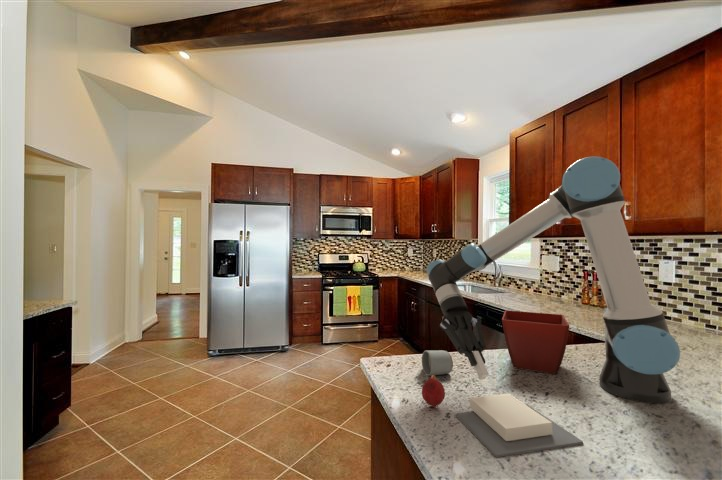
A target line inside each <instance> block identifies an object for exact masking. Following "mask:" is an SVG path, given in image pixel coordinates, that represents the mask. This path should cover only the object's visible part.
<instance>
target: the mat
mask: <svg viewBox="0 0 722 480" xmlns="http://www.w3.org/2000/svg"><path fill="white" fill-rule="evenodd" d="M525 405H527V406H528V407H530V408H531V409H533V410H534V411H536V412H537V413H539V414H540V415H542V416H543V417H545V418H546V419H548V420H549V421H551V422H552V435H545V436H539V437H532V438H525V439H518V440H512V441H506V440H504V439H503V438H502V437H501V436H500V435H499V434H498V433H497V432H496V431H495V430H493V429H492V428H491V427H490V426H489V425H488V424H487V423H486V422H485V421H484V420H482V419H481V418H480V417H479V416H478V415H477V414H476V413H475V412H474V411H473V410H471V411H470V410H469V411H463V412H455V413H454V415H455V417H456V418H457V419H458V420H459V421H460V422H461V423H462V424H463V425H464V426H465V427H466V428H467V429H468V431H470V432H471V434H472V435H474V437H475V438H477V440H479V442H481V444H482V445H483V446H484V447H485V448H486V449H487V450H488V452H490V453H491V454H492V455H493V457H495V458H496V459H497V458H503V457H504V458H505V457H509V456H516V455H522V454H528V453H534V452H541V451H548V450H553V449H560V448H566V447H571V446H572V447H573V446H579V445H583V444H584V441H583V440H581V438H579V437H578V436H576V435H574V434H573V433H571V432H570V431H568V430H567V429H565V428H563V427H562V426H560V425H559V424H558V423H556V422H555V421H553V420H551V419H550V418H549V417H547V416H545V415H544V414H543V413H541V412H540V411H538V410H536V409H535V408H533V407H532V406H530V405H529V404H528V403H527V404H526V403H525Z"/></svg>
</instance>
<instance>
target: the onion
mask: <svg viewBox="0 0 722 480" xmlns="http://www.w3.org/2000/svg"><path fill="white" fill-rule="evenodd" d="M436 376H437V375H432V376H430V378H428V379H427V380H426V381H424V383H423V385H422V387H421V396H422V399H423V401H424V402H425V403H426V404H427V405H429V407H431V408H436V407H438V406H439V405H440V404H442V403H443V401H444V400H445V398H446V391H445V388H444V385H443V383H441V382H440V381H439V380H438V379H437V377H436Z"/></svg>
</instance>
